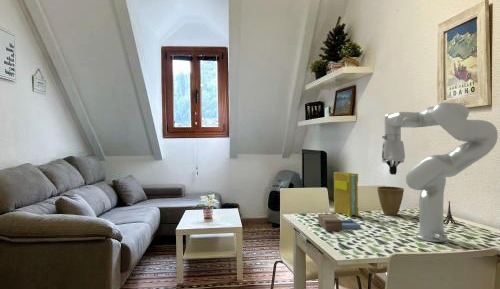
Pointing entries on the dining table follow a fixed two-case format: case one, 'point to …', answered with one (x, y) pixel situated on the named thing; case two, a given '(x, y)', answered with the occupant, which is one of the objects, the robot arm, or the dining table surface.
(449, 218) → the eiffel tower figurine
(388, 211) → the plant pot
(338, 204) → the book
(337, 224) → the brown rectangular block
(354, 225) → the blue tray
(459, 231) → the dining table surface
